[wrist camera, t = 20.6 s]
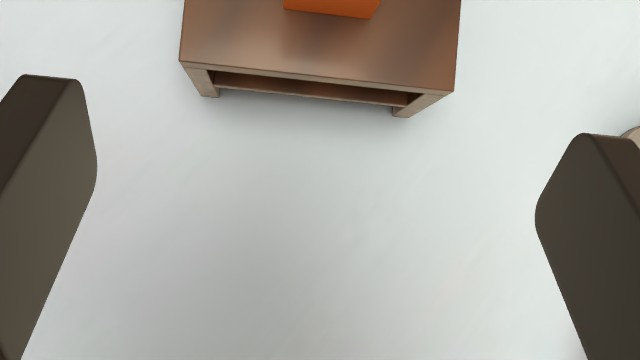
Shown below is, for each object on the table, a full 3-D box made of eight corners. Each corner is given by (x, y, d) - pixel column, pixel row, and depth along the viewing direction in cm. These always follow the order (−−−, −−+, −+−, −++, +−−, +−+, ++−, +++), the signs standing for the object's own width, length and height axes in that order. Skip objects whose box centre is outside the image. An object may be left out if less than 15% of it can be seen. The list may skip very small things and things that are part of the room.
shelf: (200, 96, 36) (178, 61, 27) (217, -68, 36) (200, -156, 27) (409, 118, 37) (454, 91, 28) (422, -40, 37) (470, -116, 28)
